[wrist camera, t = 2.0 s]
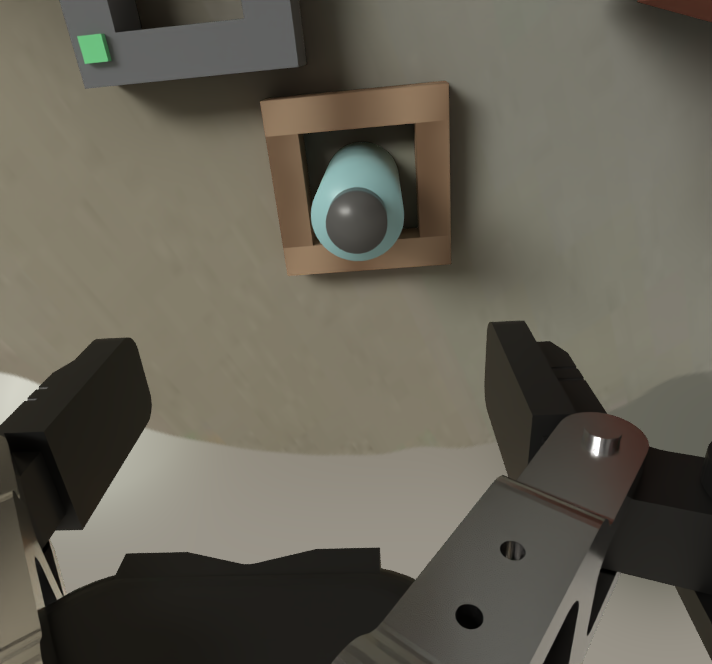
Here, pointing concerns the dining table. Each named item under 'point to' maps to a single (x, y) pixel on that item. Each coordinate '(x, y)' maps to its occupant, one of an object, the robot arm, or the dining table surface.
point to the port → (180, 42)
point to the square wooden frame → (350, 112)
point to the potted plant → (685, 7)
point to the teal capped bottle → (359, 203)
